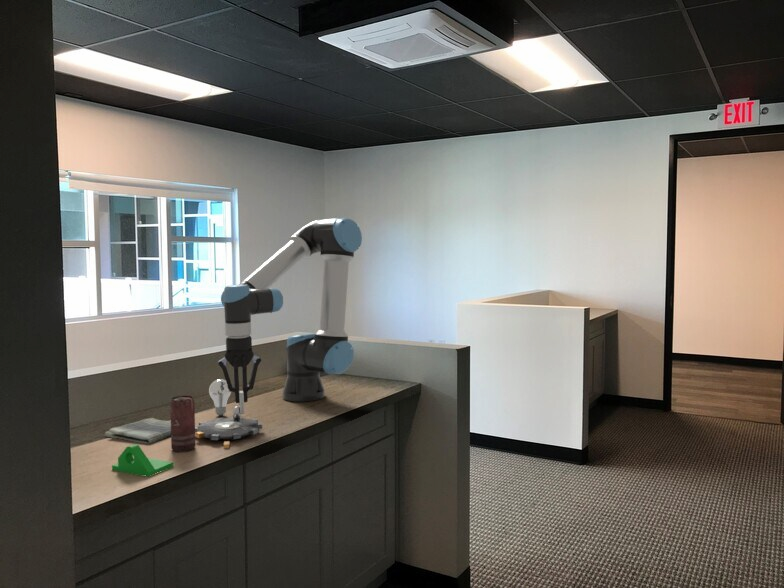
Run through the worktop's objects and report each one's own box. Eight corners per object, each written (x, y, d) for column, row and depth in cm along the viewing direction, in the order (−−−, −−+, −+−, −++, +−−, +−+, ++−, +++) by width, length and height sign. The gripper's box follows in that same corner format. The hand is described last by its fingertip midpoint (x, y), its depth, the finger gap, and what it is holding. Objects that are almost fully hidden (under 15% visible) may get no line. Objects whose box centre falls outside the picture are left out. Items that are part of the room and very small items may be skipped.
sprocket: (251, 417, 193) (251, 402, 192) (270, 433, 175) (270, 417, 175) (187, 426, 184) (186, 410, 183) (200, 444, 166) (199, 426, 166)
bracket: (173, 467, 153) (172, 440, 152) (148, 478, 146) (147, 449, 145) (137, 461, 158) (136, 434, 157) (112, 471, 151) (111, 443, 150)
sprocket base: (247, 426, 187) (247, 423, 187) (251, 438, 176) (251, 434, 176) (205, 430, 183) (205, 427, 183) (206, 442, 172) (206, 438, 172)
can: (189, 453, 163) (187, 400, 162) (167, 451, 164) (165, 399, 163) (200, 446, 169) (199, 395, 168) (179, 444, 170) (177, 394, 169)
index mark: (224, 445, 170) (224, 441, 169) (229, 444, 170) (229, 441, 170) (223, 448, 167) (223, 444, 167) (229, 447, 167) (229, 444, 167)
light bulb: (208, 414, 202) (207, 378, 201) (230, 412, 205) (229, 376, 204) (211, 419, 196) (210, 382, 195) (233, 417, 198) (232, 380, 198)
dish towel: (194, 429, 187) (194, 419, 186) (149, 446, 170) (148, 435, 170) (148, 423, 194) (148, 412, 194) (100, 438, 178) (100, 427, 178)
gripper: (258, 333, 192) (261, 407, 194) (216, 335, 188) (219, 412, 190) (261, 336, 185) (264, 413, 187) (217, 339, 181) (220, 418, 183)
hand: (241, 412), depth 188 cm, fingers closed
